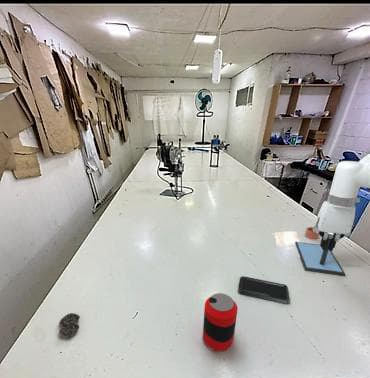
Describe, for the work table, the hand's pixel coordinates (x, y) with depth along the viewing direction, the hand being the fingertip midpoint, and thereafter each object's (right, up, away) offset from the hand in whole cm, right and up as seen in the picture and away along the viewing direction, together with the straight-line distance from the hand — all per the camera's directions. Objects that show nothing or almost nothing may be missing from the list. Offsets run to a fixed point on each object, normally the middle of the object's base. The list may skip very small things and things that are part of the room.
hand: (326, 248), depth 84 cm
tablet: (+1, -5, +8) cm, 10 cm away
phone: (-26, -12, -9) cm, 30 cm away
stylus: (0, -6, +3) cm, 7 cm away
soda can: (-43, -20, -25) cm, 53 cm away
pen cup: (+7, +2, +24) cm, 25 cm away
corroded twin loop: (-81, -18, -23) cm, 86 cm away
